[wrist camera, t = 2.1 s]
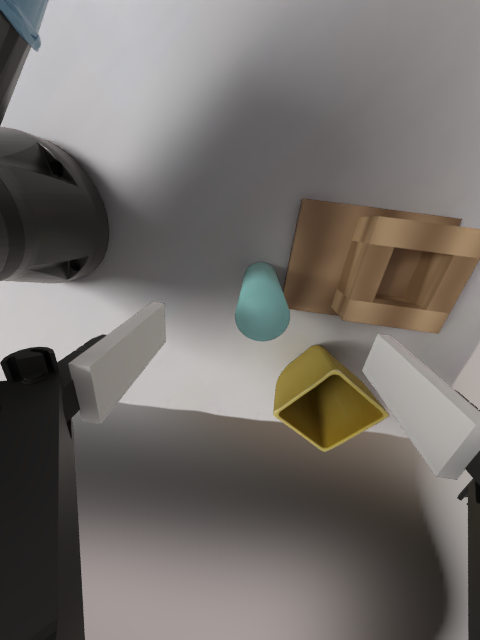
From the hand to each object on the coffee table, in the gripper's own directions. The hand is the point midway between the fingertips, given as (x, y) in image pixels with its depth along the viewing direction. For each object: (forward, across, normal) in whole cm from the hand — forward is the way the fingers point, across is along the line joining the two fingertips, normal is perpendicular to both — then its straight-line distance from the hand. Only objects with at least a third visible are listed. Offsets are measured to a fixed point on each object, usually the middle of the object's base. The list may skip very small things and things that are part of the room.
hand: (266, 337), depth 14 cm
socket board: (+15, +11, +3) cm, 19 cm away
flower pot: (+15, +9, -11) cm, 21 cm away
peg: (+15, 0, 0) cm, 15 cm away
